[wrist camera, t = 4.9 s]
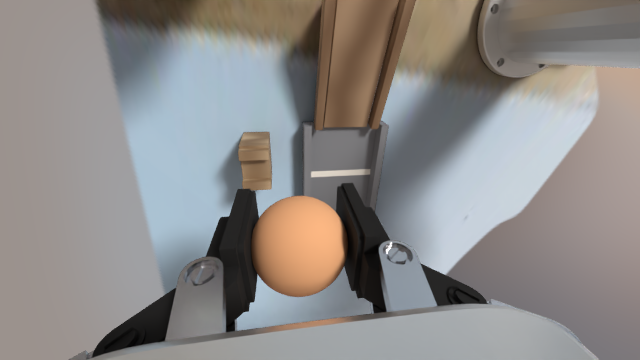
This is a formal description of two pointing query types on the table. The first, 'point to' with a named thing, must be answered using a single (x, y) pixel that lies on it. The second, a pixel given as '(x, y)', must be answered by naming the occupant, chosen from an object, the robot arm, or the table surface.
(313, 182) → the lane
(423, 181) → the table surface
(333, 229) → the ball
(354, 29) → the ramp
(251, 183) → the wooden upright block
